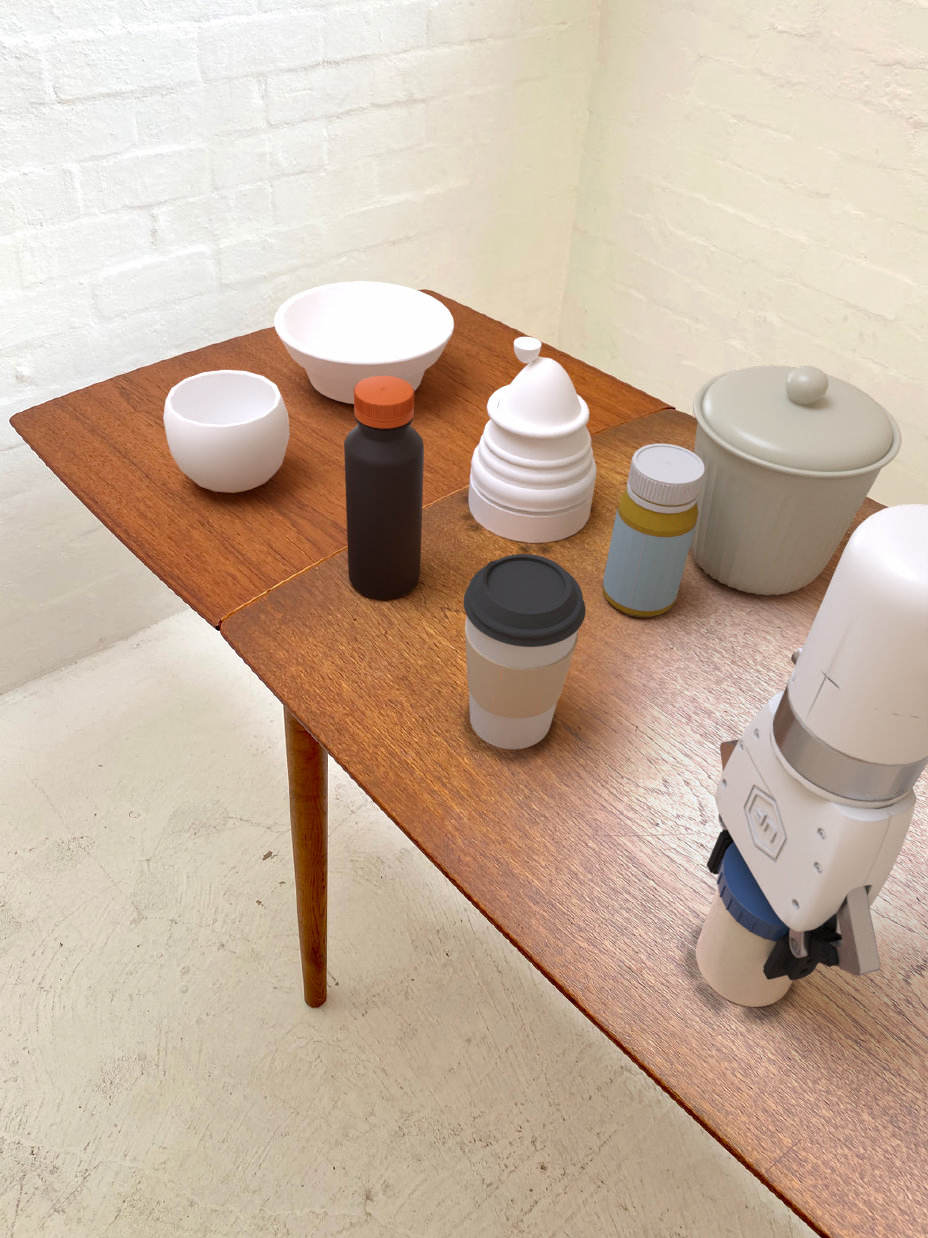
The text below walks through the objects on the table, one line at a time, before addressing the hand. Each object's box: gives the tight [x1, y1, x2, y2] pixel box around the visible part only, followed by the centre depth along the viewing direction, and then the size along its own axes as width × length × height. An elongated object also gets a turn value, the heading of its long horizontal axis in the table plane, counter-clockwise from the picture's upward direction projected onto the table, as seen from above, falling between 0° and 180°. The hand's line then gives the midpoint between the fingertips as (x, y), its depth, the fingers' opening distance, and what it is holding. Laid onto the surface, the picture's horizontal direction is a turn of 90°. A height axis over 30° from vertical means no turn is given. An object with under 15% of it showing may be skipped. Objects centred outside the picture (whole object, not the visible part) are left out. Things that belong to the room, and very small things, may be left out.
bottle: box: [601, 443, 705, 618], centre depth 88 cm, size 7×7×15 cm
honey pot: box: [467, 336, 598, 544], centre depth 97 cm, size 13×13×18 cm
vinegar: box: [343, 376, 425, 600], centre depth 86 cm, size 7×7×20 cm
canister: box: [689, 364, 903, 596], centre depth 91 cm, size 18×18×21 cm
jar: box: [695, 886, 794, 1008], centre depth 63 cm, size 6×6×10 cm
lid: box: [716, 842, 823, 942], centre depth 60 cm, size 7×7×2 cm
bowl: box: [273, 281, 455, 405], centre depth 118 cm, size 21×21×8 cm
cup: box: [162, 369, 291, 494], centre depth 101 cm, size 12×12×10 cm
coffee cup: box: [462, 553, 587, 750], centre depth 76 cm, size 9×9×15 cm
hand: (757, 915), depth 62 cm, fingers closed on lid, 6 cm apart
